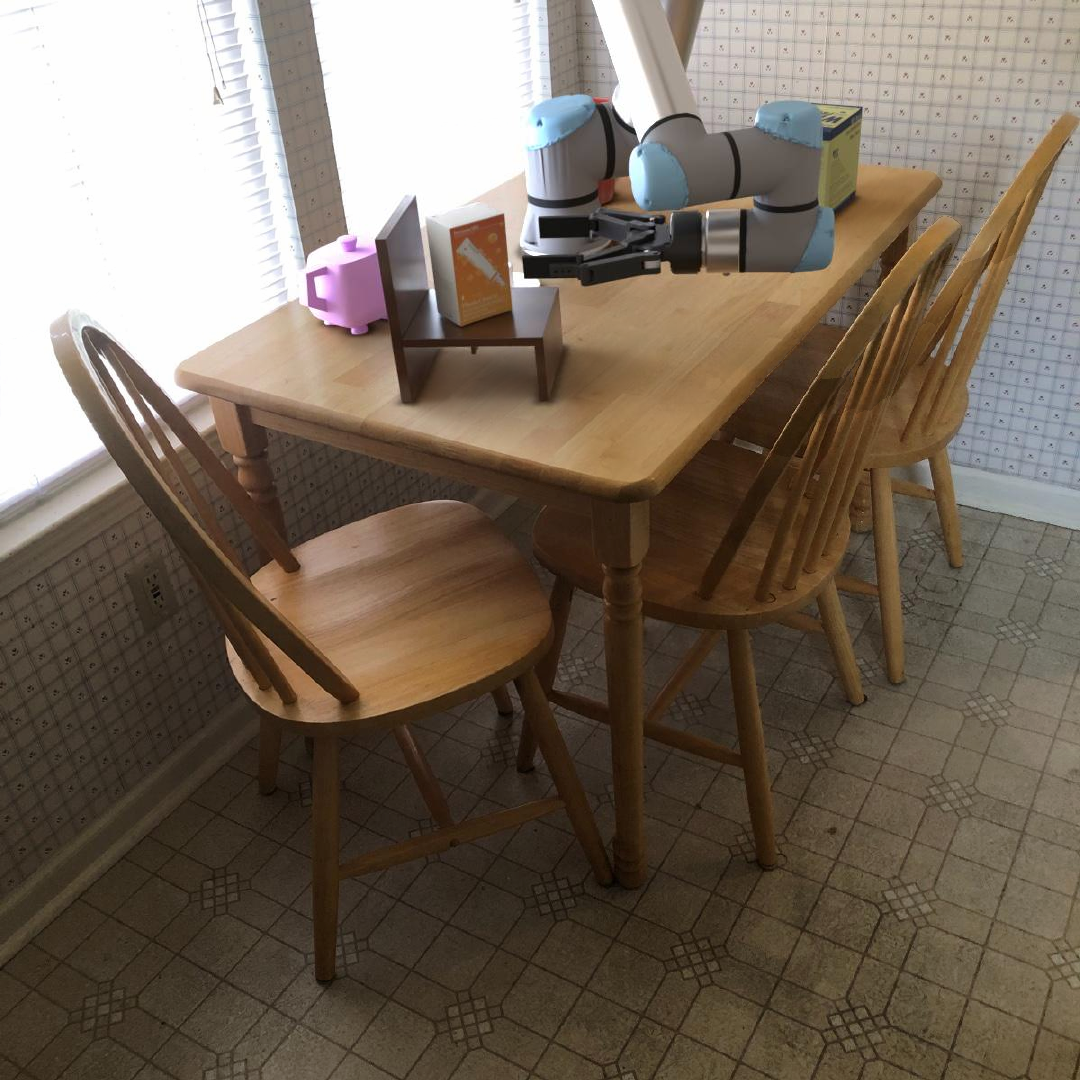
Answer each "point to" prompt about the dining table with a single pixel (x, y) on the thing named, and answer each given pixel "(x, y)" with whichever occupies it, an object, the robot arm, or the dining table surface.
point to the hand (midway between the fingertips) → (531, 246)
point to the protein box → (839, 154)
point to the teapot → (344, 283)
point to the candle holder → (521, 279)
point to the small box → (469, 263)
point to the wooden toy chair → (426, 329)
